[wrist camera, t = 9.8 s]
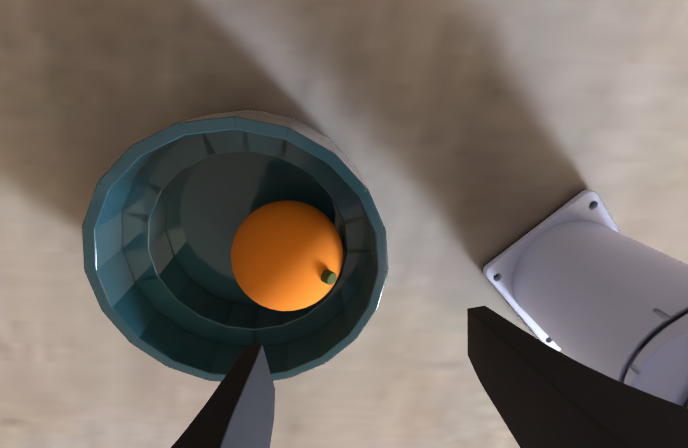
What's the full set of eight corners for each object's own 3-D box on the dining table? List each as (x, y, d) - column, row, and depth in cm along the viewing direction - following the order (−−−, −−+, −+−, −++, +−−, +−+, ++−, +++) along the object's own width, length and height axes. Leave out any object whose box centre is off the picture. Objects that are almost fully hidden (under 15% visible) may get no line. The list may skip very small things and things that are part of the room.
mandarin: (310, 221, 21) (385, 253, 18) (259, 297, 20) (329, 348, 17) (254, 168, 17) (335, 195, 14) (187, 259, 16) (257, 315, 13)
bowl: (413, 231, 21) (443, 271, 16) (263, 355, 23) (251, 421, 19) (251, 51, 17) (229, 37, 12) (88, 226, 19) (16, 269, 14)
